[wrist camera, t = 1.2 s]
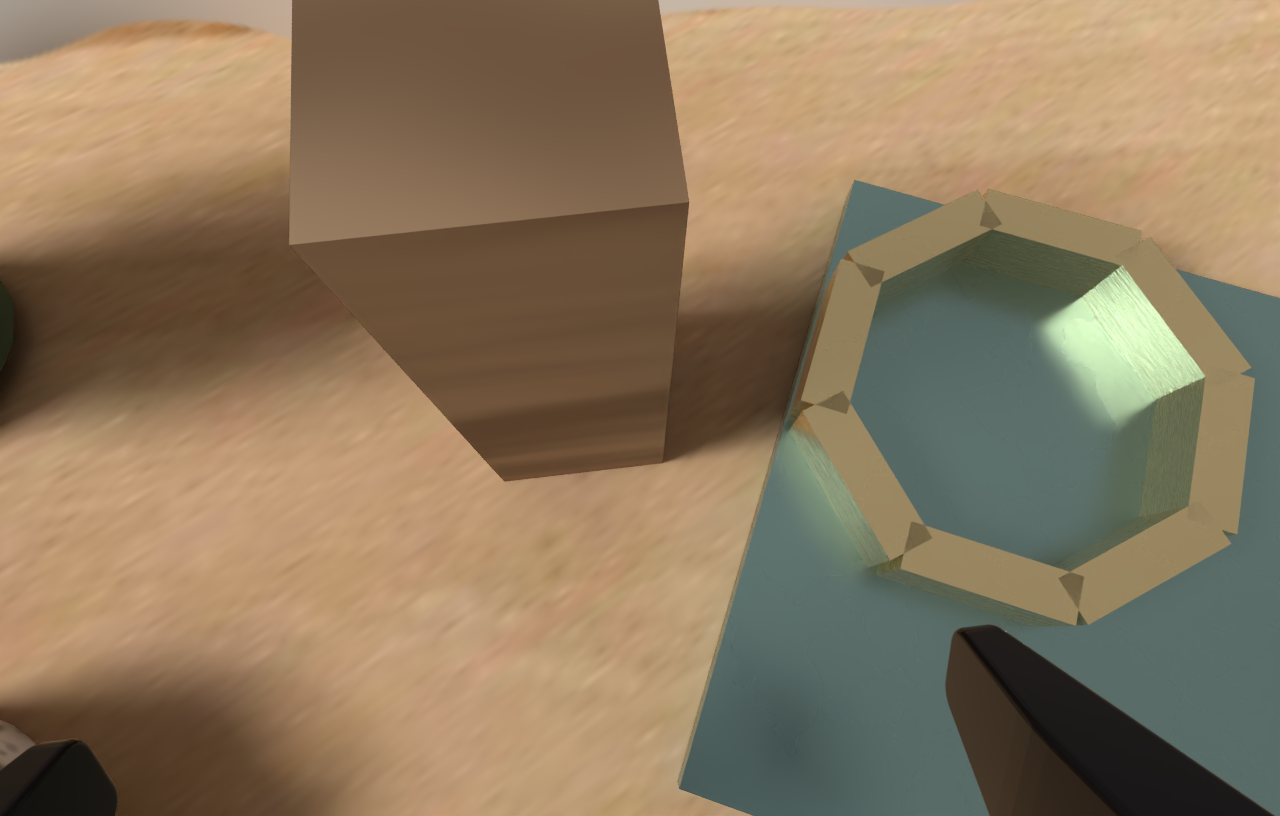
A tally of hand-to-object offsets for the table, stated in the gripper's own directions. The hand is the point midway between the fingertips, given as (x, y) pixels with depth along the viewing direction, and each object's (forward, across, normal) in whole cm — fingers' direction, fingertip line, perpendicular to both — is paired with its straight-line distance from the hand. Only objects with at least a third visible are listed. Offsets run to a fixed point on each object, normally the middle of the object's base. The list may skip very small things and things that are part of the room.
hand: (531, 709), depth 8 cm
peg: (+15, 0, +4) cm, 15 cm away
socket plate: (+11, -12, +8) cm, 18 cm away
